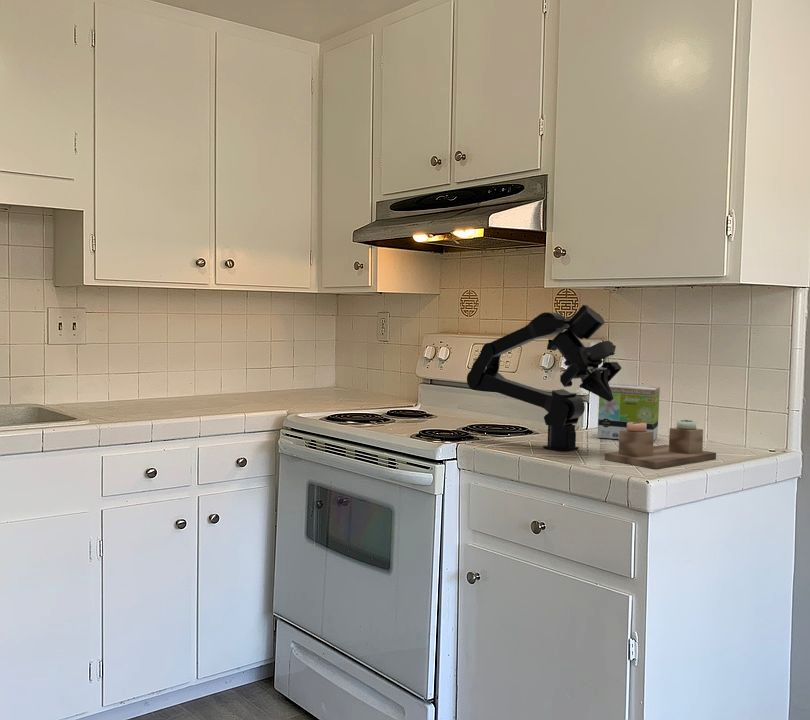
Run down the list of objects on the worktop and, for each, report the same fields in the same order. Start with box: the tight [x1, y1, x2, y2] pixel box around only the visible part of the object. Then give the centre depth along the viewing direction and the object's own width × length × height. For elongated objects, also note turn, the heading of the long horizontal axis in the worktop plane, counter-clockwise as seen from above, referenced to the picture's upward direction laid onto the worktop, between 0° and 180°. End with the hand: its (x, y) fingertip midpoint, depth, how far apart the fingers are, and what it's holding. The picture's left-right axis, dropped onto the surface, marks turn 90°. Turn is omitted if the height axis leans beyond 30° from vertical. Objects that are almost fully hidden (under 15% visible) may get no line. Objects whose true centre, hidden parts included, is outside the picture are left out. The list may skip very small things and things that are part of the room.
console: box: [604, 426, 717, 470], centre depth 188 cm, size 14×24×7 cm, turn 128°
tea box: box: [597, 383, 661, 442], centre depth 221 cm, size 15×10×15 cm, turn 65°
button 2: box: [676, 419, 697, 429], centre depth 191 cm, size 4×4×2 cm
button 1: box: [627, 422, 647, 432], centre depth 185 cm, size 4×4×2 cm
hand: (611, 400), depth 190 cm, fingers closed
